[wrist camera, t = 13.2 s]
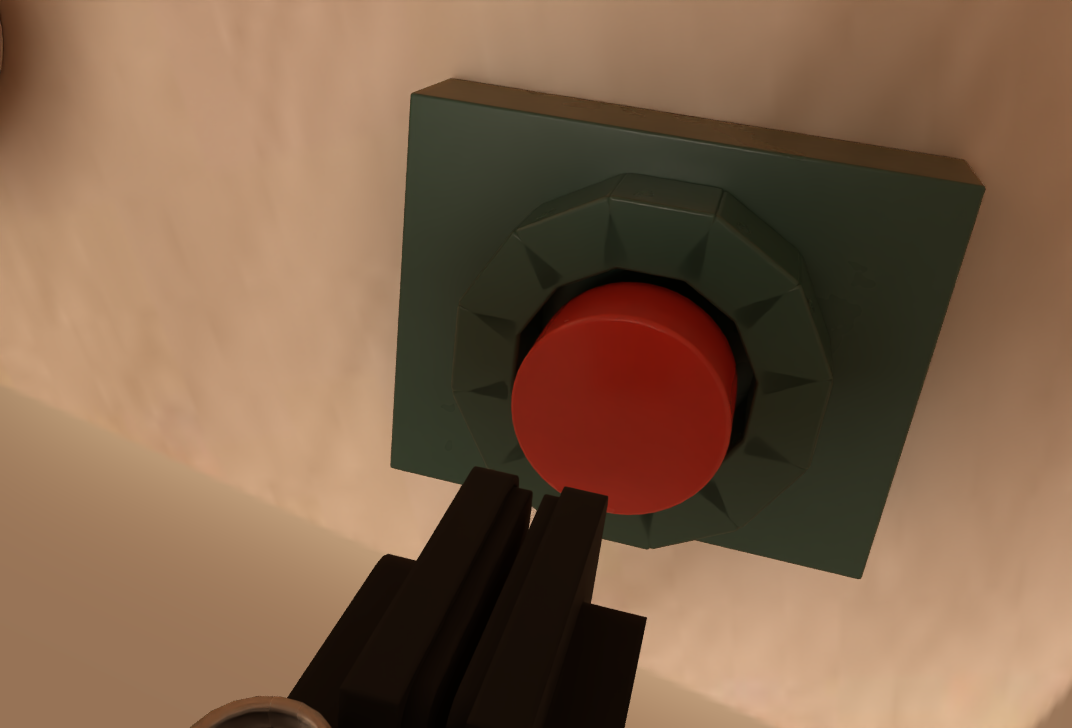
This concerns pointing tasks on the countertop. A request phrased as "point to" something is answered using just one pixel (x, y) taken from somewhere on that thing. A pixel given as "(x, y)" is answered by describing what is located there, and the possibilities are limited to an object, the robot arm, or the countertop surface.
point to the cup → (1, 46)
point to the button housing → (693, 271)
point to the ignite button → (627, 397)
